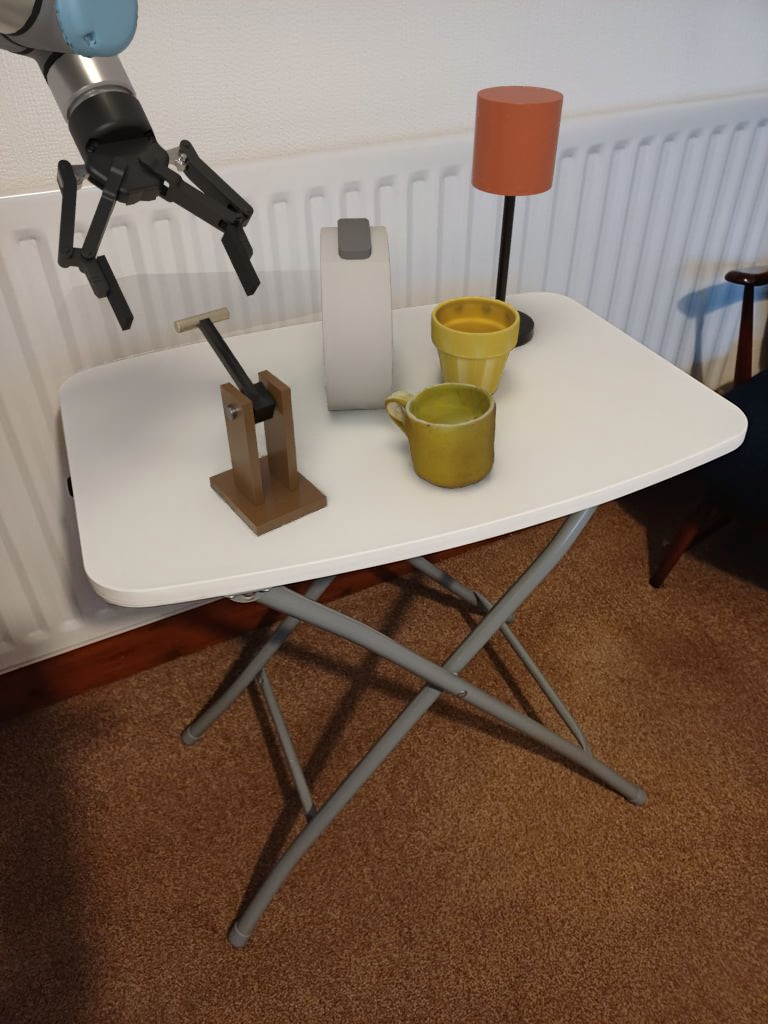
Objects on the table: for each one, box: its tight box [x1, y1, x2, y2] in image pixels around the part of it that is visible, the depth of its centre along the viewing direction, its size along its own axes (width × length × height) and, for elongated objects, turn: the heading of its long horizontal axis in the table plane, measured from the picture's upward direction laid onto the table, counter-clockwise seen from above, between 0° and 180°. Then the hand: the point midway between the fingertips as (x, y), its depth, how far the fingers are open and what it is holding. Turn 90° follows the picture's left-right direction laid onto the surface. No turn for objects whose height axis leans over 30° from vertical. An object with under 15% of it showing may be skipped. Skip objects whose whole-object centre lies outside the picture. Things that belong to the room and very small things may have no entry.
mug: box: [384, 382, 497, 489], centre depth 83 cm, size 12×10×10 cm
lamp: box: [470, 85, 564, 348], centre depth 101 cm, size 10×10×30 cm
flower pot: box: [430, 296, 520, 395], centre depth 95 cm, size 10×10×10 cm
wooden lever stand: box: [208, 369, 328, 537], centre depth 76 cm, size 10×8×13 cm
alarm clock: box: [319, 217, 394, 411], centre depth 93 cm, size 21×8×20 cm, turn 3°
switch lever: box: [173, 306, 276, 425], centre depth 75 cm, size 13×6×2 cm, turn 35°
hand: (193, 306), depth 78 cm, fingers open, 13 cm apart
